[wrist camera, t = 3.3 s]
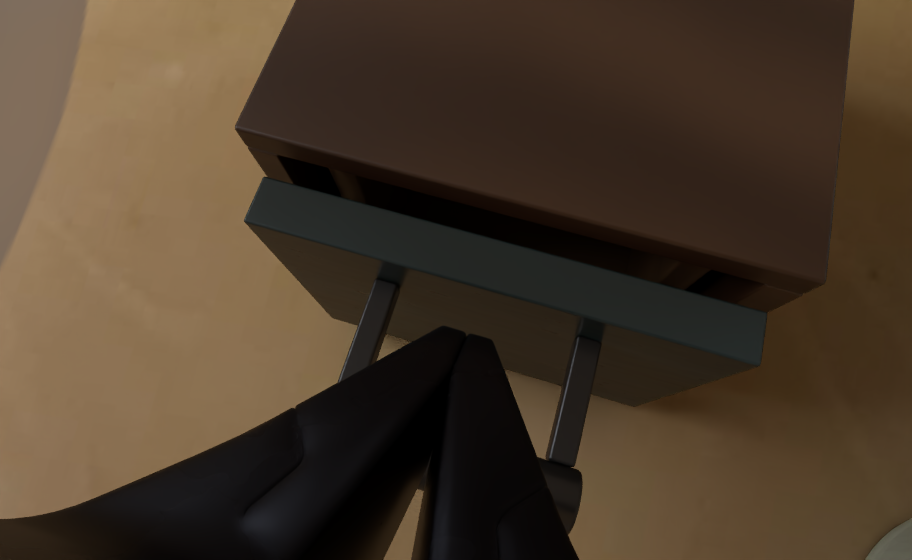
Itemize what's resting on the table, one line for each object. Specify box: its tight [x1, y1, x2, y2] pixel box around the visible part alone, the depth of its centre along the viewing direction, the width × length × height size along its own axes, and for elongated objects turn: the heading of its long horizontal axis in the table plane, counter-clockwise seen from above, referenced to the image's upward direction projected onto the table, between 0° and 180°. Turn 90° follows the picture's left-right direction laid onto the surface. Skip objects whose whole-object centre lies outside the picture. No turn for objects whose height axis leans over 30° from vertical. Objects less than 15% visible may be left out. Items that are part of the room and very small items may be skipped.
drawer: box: [244, 168, 767, 534], centre depth 17 cm, size 18×11×9 cm, turn 163°
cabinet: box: [235, 0, 854, 313], centre depth 19 cm, size 15×13×11 cm
